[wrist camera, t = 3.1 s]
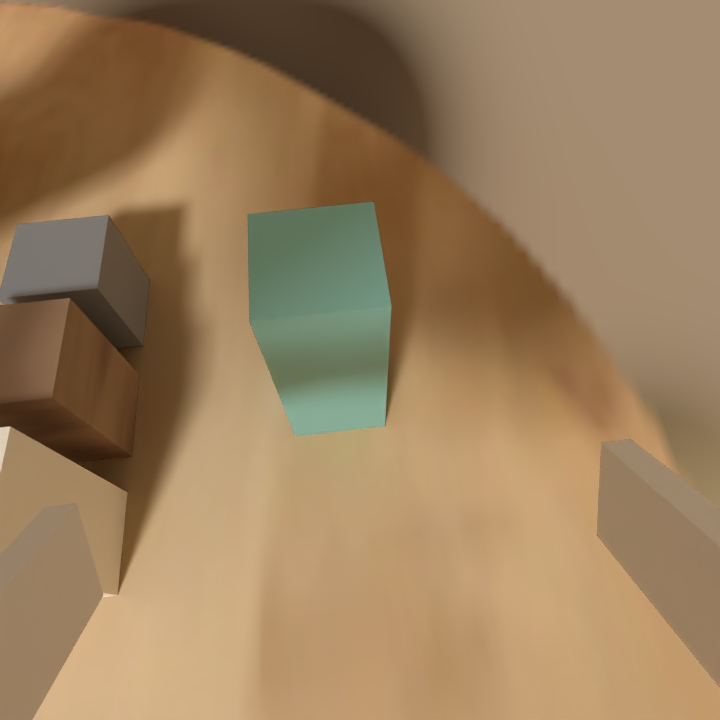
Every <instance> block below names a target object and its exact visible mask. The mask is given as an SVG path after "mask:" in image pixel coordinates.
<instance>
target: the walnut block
mask: <svg viewBox="0 0 720 720" xmlns="http://www.w3.org/2000/svg"><path fill="white" fill-rule="evenodd" d="M139 378H140V375H139V373H138V372H137V371H136V370H135V369H134V368H133V367H132V366H131V365H130V364H129V362H128V361H127V360H126V359H125V358H124V357H123V356H122V355H121V354H120V353H119V351H118V350H117V349H116V348H115V347H114V346H113V345H112V344H111V343H110V342H109V340H108V339H107V338H106V337H105V336H104V335H103V334H102V333H101V332H100V331H99V329H98V328H97V327H96V326H95V325H94V324H93V323H92V322H91V321H90V320H89V318H88V317H87V316H86V315H85V314H84V313H83V312H82V311H81V310H80V309H79V307H78V306H77V305H76V304H75V303H74V302H73V301H72V300H71V299H70V298H65V299H55V300H46V301H36V302H27V303H17V304H8V305H0V428H1V427H10V426H11V427H12V428H14V429H16V430H18V431H19V432H21V433H23V434H25V435H26V436H28V437H30V438H32V439H34V440H35V441H37V442H39V443H41V444H42V445H44V446H46V447H48V448H49V449H51V450H53V451H55V452H57V453H58V454H60V455H62V456H64V457H65V458H67V459H69V460H71V461H72V462H74V463H77V462H86V461H94V460H103V459H112V458H120V457H129V456H132V451H133V441H134V430H135V420H136V409H137V399H138V388H139Z"/></svg>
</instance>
